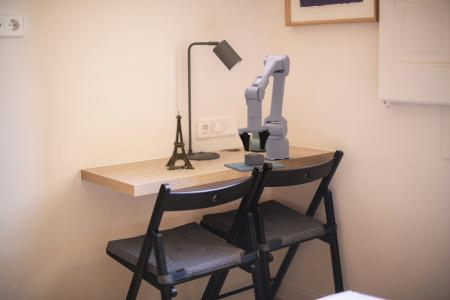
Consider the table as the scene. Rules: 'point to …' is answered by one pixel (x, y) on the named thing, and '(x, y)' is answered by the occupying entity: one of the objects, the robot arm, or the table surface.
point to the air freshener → (255, 143)
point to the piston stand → (243, 167)
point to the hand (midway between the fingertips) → (254, 150)
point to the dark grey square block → (254, 160)
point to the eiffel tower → (177, 144)
